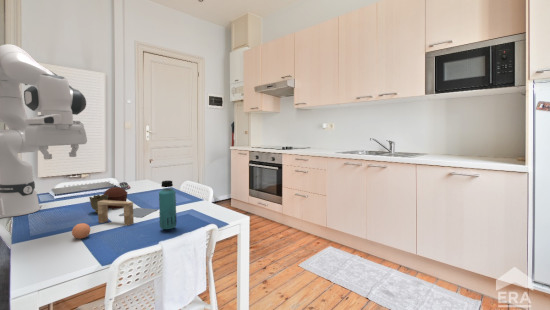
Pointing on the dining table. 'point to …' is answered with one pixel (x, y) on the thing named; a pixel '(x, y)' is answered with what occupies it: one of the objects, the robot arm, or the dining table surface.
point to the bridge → (104, 209)
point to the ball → (81, 231)
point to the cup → (95, 199)
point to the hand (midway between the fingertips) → (61, 158)
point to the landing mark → (141, 212)
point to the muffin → (116, 196)
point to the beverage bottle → (167, 206)
